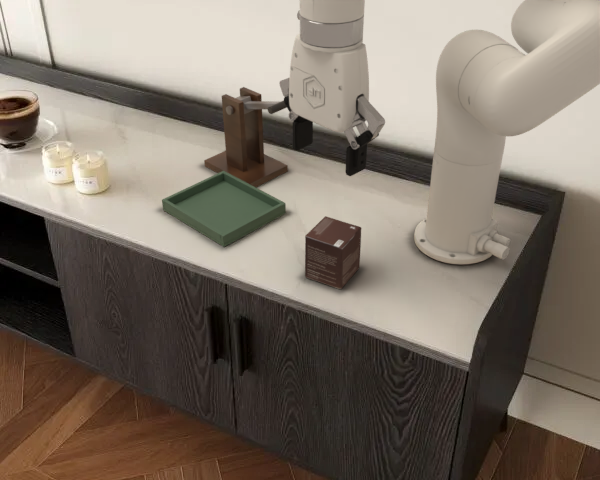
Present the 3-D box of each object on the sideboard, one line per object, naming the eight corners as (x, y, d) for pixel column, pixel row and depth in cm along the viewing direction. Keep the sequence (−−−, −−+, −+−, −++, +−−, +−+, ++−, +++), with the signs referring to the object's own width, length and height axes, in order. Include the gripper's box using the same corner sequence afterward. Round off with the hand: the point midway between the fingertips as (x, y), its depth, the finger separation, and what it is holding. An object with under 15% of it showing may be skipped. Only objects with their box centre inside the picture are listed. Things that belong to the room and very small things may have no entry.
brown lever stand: (287, 171, 134) (286, 97, 125) (250, 190, 129) (245, 114, 120) (242, 149, 140) (237, 77, 132) (204, 166, 136) (197, 92, 127)
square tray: (285, 213, 123) (285, 202, 122) (224, 247, 116) (223, 236, 115) (224, 180, 132) (223, 170, 130) (163, 210, 124) (161, 199, 123)
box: (324, 256, 114) (325, 214, 109) (360, 268, 111) (362, 226, 107) (304, 278, 110) (303, 235, 105) (340, 290, 107) (342, 248, 103)
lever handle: (296, 108, 122) (293, 93, 120) (274, 118, 119) (270, 103, 118) (249, 107, 130) (246, 93, 129) (227, 116, 127) (223, 102, 126)
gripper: (258, 19, 93) (263, 146, 103) (364, 57, 83) (357, 193, 94) (303, 5, 97) (303, 129, 107) (408, 39, 87) (397, 172, 98)
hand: (328, 159), depth 100 cm, fingers open, 9 cm apart
